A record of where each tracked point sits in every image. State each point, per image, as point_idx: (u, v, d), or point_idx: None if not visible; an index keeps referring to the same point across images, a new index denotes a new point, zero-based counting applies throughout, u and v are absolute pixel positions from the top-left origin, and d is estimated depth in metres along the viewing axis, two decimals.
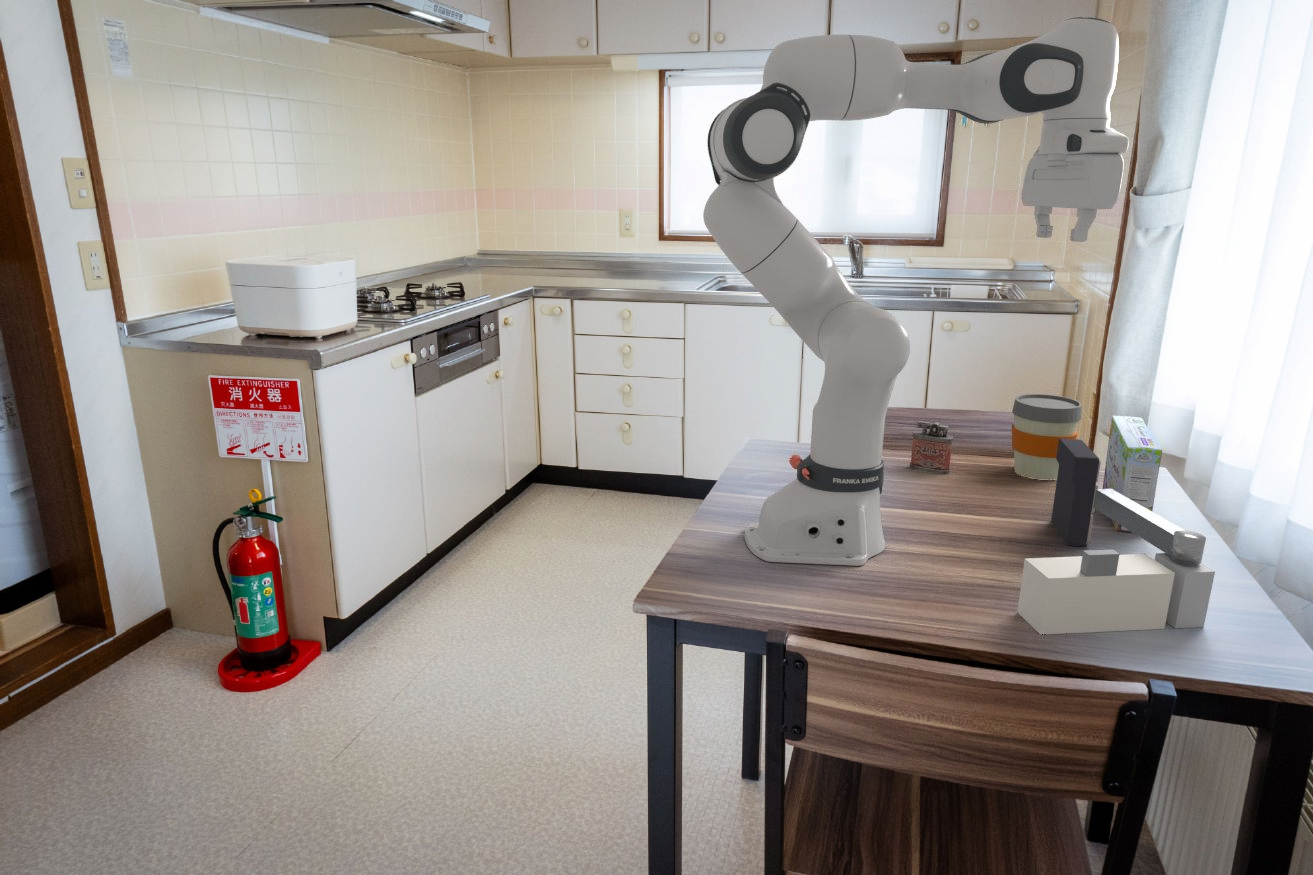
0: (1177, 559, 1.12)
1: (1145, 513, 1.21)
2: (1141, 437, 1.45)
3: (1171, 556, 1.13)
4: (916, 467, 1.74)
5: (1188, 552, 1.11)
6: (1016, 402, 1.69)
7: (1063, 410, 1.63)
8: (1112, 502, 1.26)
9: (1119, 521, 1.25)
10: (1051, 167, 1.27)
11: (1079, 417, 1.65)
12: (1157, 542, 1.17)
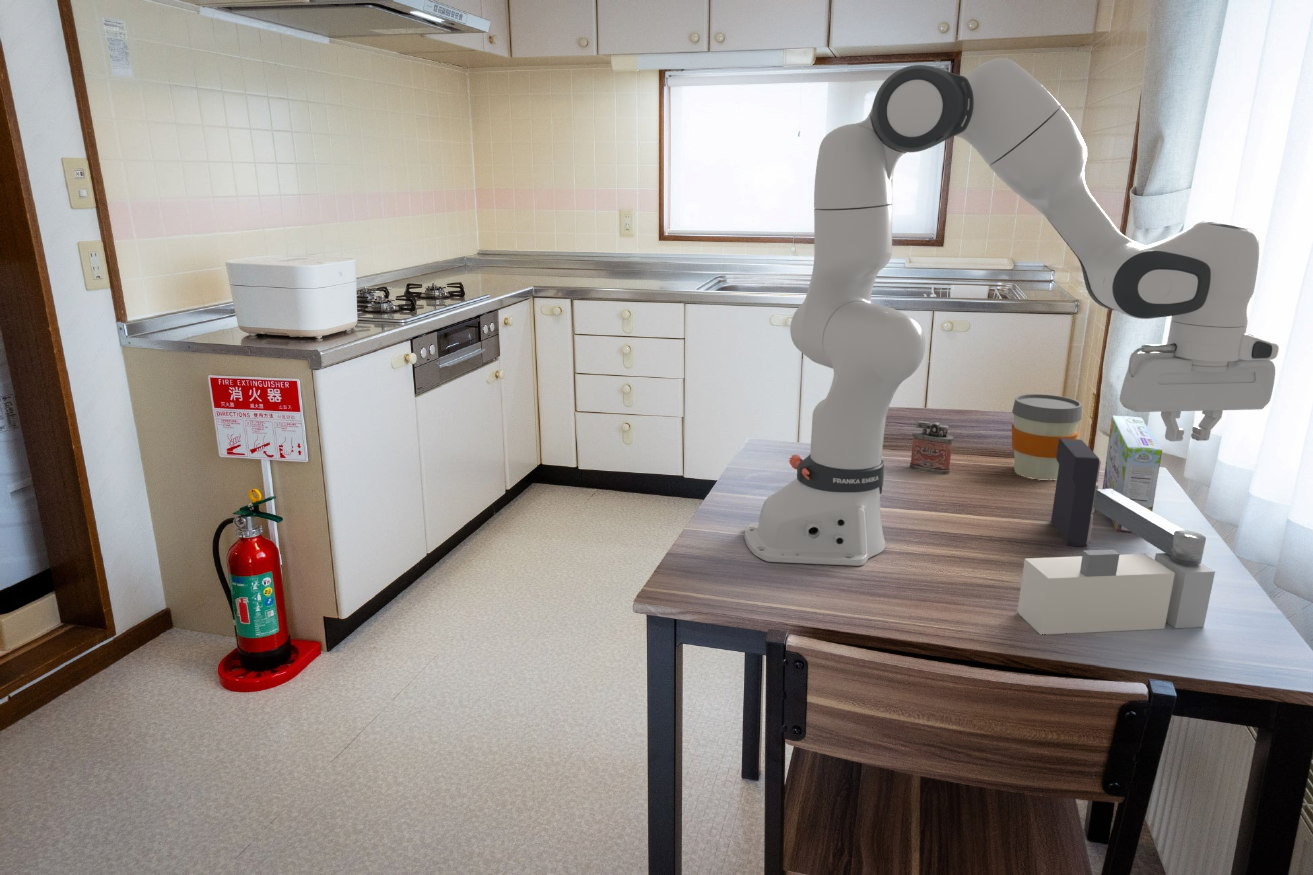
0: (1177, 559, 1.12)
1: (1145, 513, 1.21)
2: (1141, 437, 1.45)
3: (1171, 556, 1.13)
4: (916, 467, 1.74)
5: (1188, 552, 1.11)
6: (1016, 402, 1.69)
7: (1063, 410, 1.63)
8: (1112, 502, 1.26)
9: (1119, 521, 1.25)
10: (1195, 371, 1.17)
11: (1079, 417, 1.65)
12: (1157, 542, 1.17)
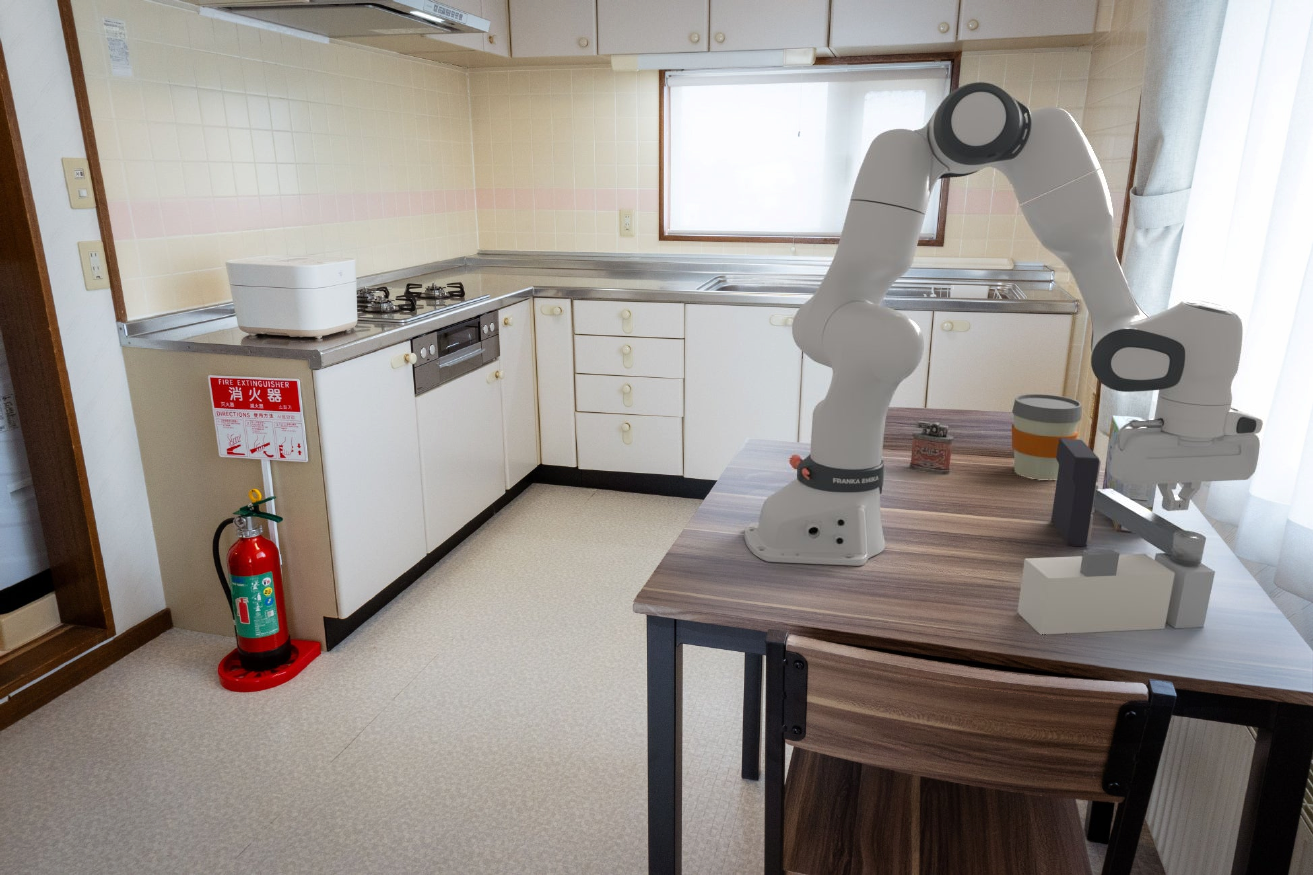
0: (1177, 559, 1.12)
1: (1145, 513, 1.21)
2: None
3: (1171, 556, 1.13)
4: (916, 467, 1.74)
5: (1188, 552, 1.11)
6: (1016, 402, 1.69)
7: (1063, 410, 1.63)
8: (1112, 502, 1.26)
9: (1119, 521, 1.25)
10: (1182, 445, 1.20)
11: (1079, 417, 1.65)
12: (1157, 542, 1.17)
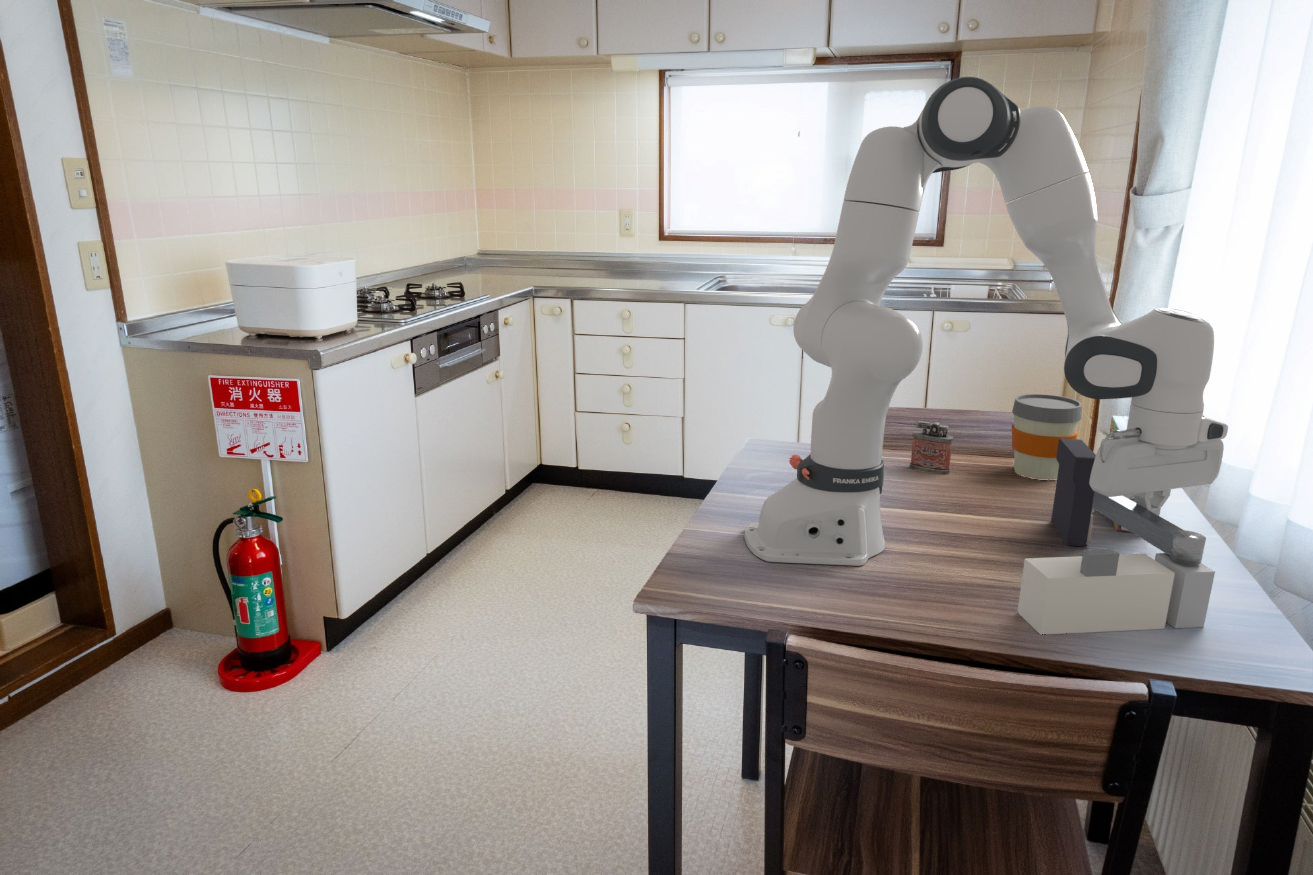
0: (1177, 559, 1.12)
1: (1144, 513, 1.21)
2: None
3: (1171, 556, 1.13)
4: (916, 467, 1.74)
5: (1188, 552, 1.11)
6: (1016, 402, 1.69)
7: (1063, 410, 1.63)
8: (1111, 502, 1.26)
9: (1118, 521, 1.25)
10: (1158, 454, 1.19)
11: (1079, 417, 1.65)
12: (1156, 542, 1.17)
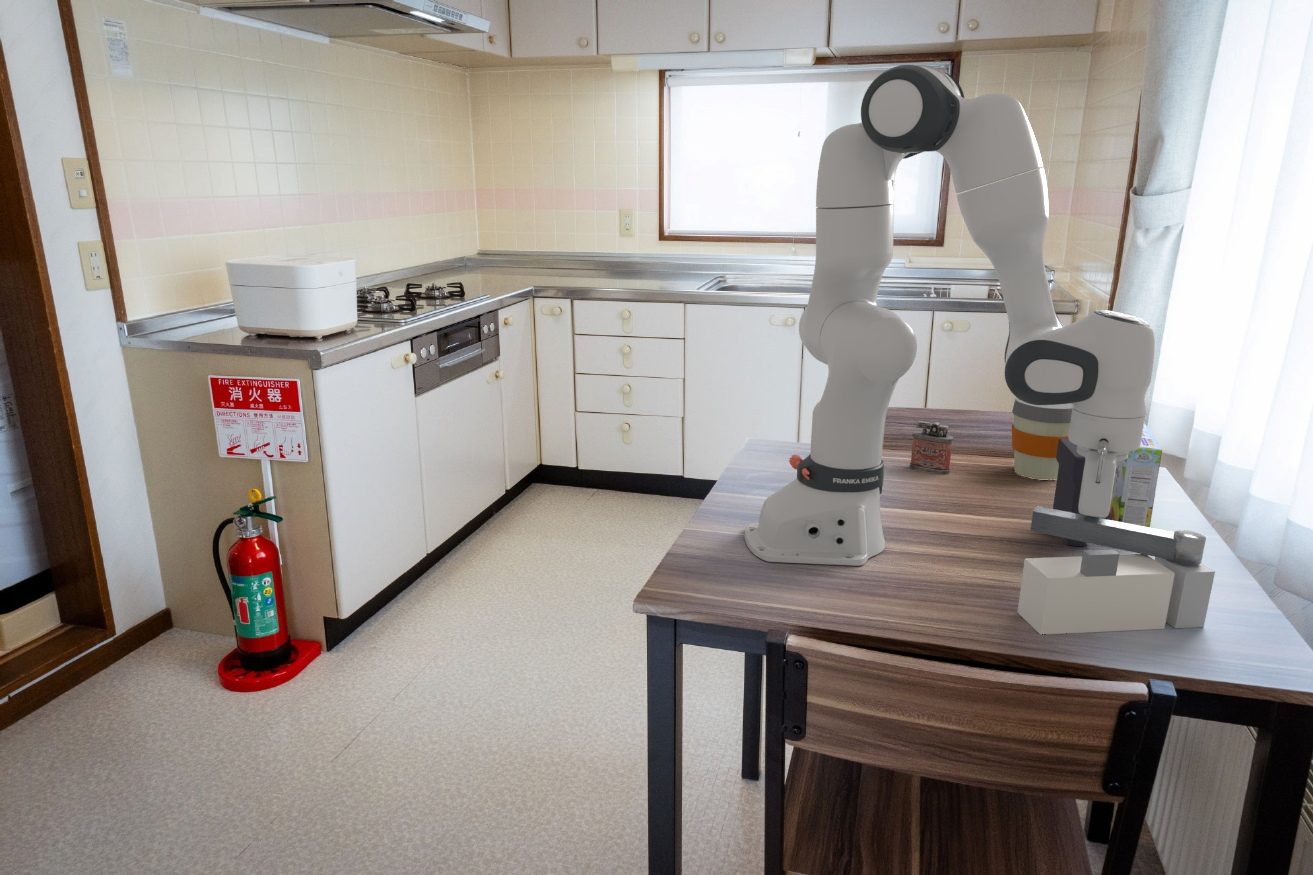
0: (1190, 562, 1.11)
1: (1113, 524, 1.17)
2: None
3: (1181, 561, 1.12)
4: (916, 467, 1.74)
5: (1200, 552, 1.11)
6: (1016, 402, 1.69)
7: (1063, 410, 1.63)
8: (1065, 521, 1.19)
9: (1080, 538, 1.19)
10: None
11: None
12: (1149, 550, 1.14)
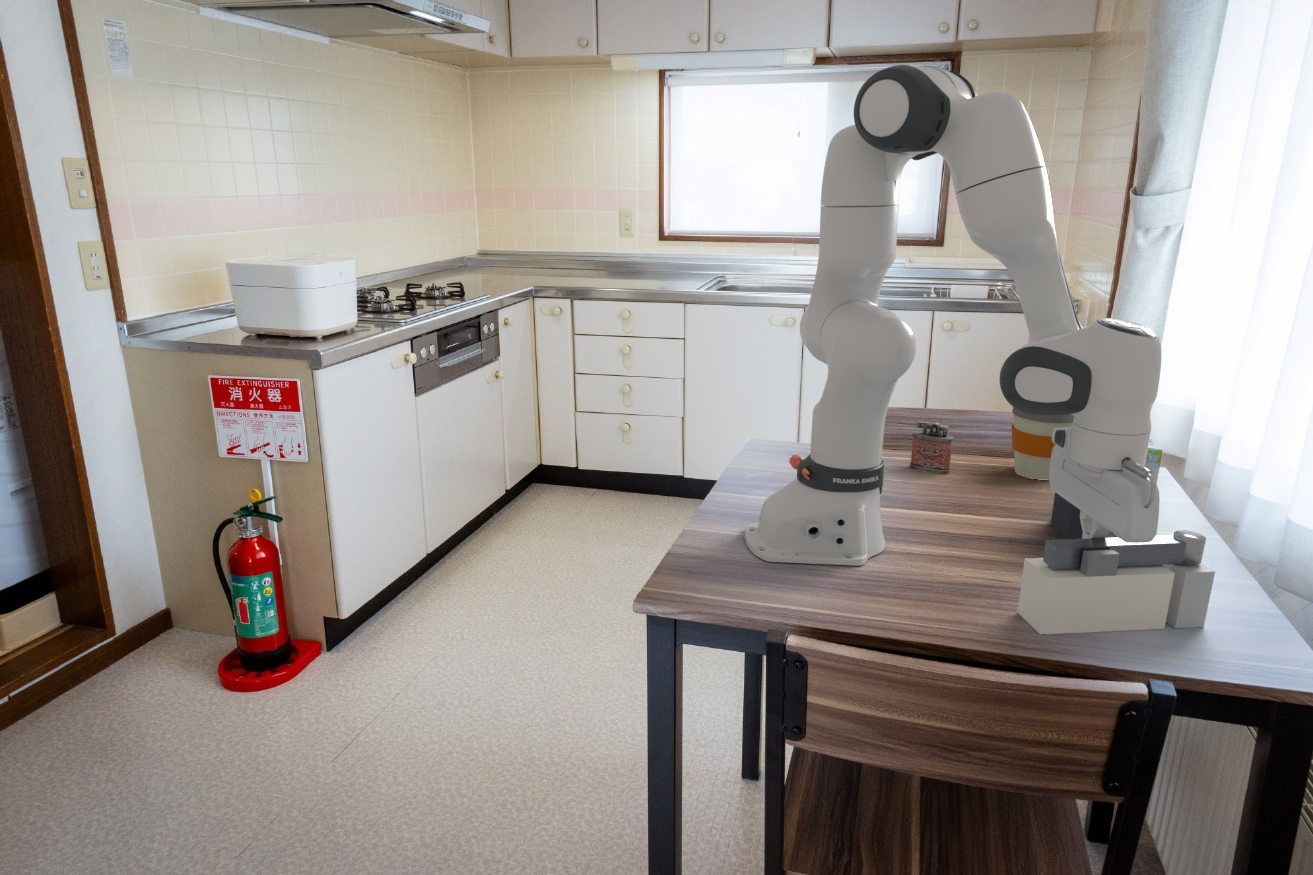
0: (1199, 561, 1.11)
1: None
2: None
3: (1192, 562, 1.11)
4: (916, 467, 1.74)
5: None
6: None
7: None
8: None
9: None
10: None
11: None
12: (1163, 560, 1.11)
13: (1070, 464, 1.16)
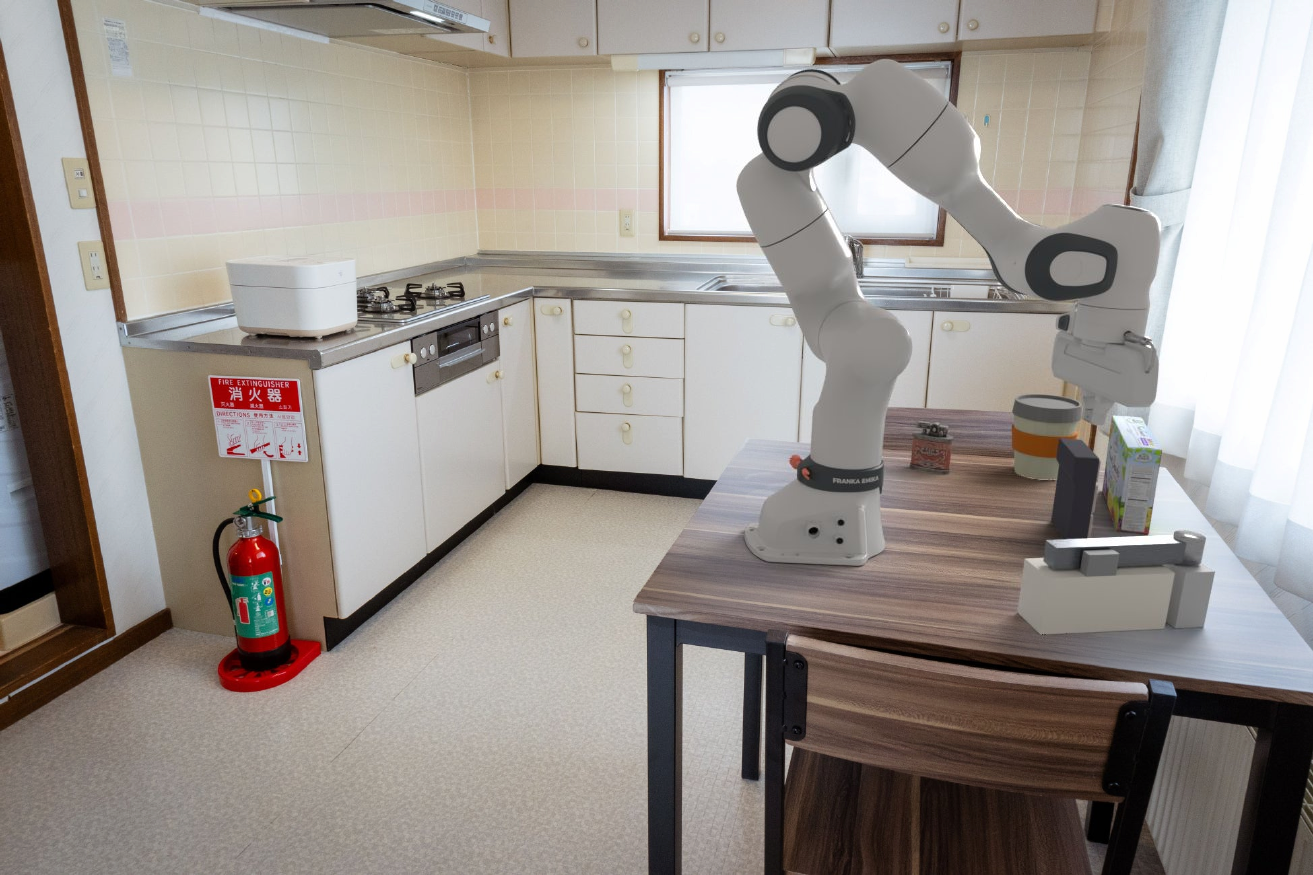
0: (1199, 561, 1.11)
1: (1125, 541, 1.11)
2: (1141, 437, 1.45)
3: (1192, 562, 1.11)
4: (916, 467, 1.74)
5: None
6: (1016, 402, 1.69)
7: (1063, 410, 1.63)
8: None
9: None
10: None
11: (1079, 417, 1.65)
12: (1163, 560, 1.11)
13: (1072, 348, 1.25)
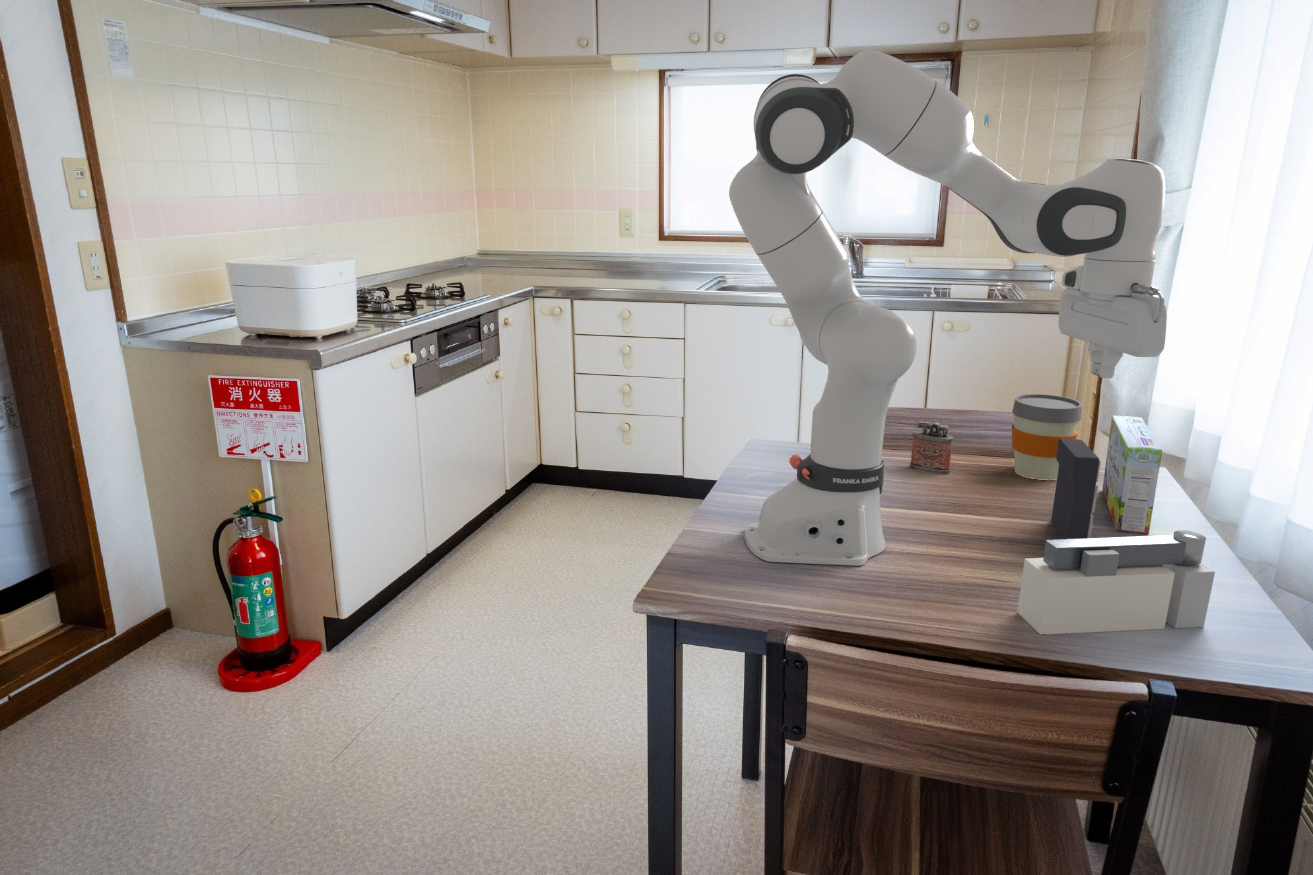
0: (1199, 561, 1.11)
1: (1125, 541, 1.11)
2: (1141, 437, 1.45)
3: (1192, 562, 1.11)
4: (916, 467, 1.74)
5: None
6: (1016, 402, 1.69)
7: (1063, 410, 1.63)
8: None
9: None
10: None
11: (1079, 417, 1.65)
12: (1163, 560, 1.11)
13: (1079, 304, 1.27)
